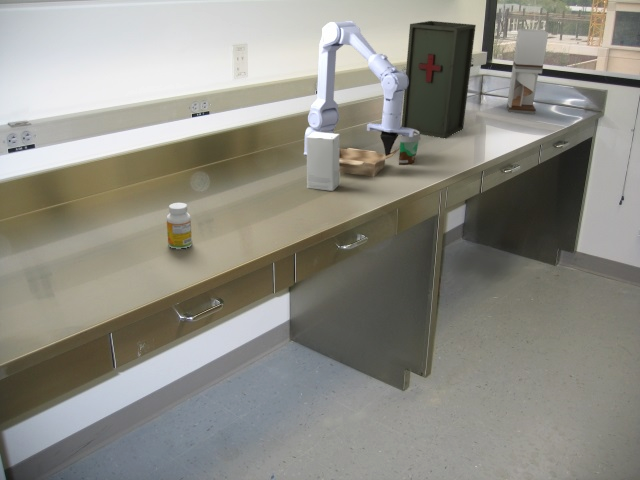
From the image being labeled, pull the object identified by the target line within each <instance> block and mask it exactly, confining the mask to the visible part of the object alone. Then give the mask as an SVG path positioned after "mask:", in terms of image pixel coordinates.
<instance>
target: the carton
mask: <svg viewBox="0 0 640 480" xmlns="http://www.w3.org/2000/svg"><path fill="white" fill-rule="evenodd" d="M384 155H385V153H378V151H374V150H366V149H359V148H358V149H357V148H352V147H351V148H350V147H347V149H346V148H340V154H339V158H341V159H349V160H356V161H363V162H365V163H364V164H363V165H361V166H358V165H351V164H344V163H339V173H346V174H352V175H358V176H359V175H360V176H367V177H372V178H373V177H375V176H377V175H378V173H379V172H381V170H383V168H385V165H386V159H385V160H383V161H380V162H378V160H380V159H381V158H382V157H383V156H384Z"/></svg>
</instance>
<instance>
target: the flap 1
mask: <svg viewBox="0 0 640 480" xmlns="http://www.w3.org/2000/svg"><path fill="white" fill-rule="evenodd" d="M339 163H344V164H351V165H358V166H361V165H363V164H364V163H365V162H363V161H356V160H349V159H341V158H339Z"/></svg>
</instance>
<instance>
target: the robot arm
mask: <svg viewBox="0 0 640 480" xmlns="http://www.w3.org/2000/svg"><path fill="white" fill-rule="evenodd" d="M321 31H322V32H321V33H322V34H321V39H320V40H319V45H318V64H317V66H318V67H317V87H316V88H317V90H316V99H315V100H314V101H313V103H312V104H311V105H310V109H309V113H308V116H307V121H308V124H309V126H307V128H306V129H305V134H304V152H303V155H304V156H305V155H306V156H307V137H308V136H309V135H310V134H312V133H313V132H322V133H334V134H335V128H336V125H338V123H339V121H340V113H339V104H338V103H337V102H336V101H335V100H334V99H335V97H334V96H335V79H336V78H335V76H336V64H337V63H336V62H337V61H336V60H337V51H338V50H339V49H340V48H342V47H343V46H344V45H346V46H352V48H354V50H356V51H357V52H358V53H359V54H360V55H361V56H362V57H363V58H364V59H365V60H366V61H367V62H368V63H367V64H368V66H367V67H368V68H369V70H370V71H371V73H373V75H374V76H376V77H377V79H378V80H379V81H380V84H381V88H382V91H383V107H382V116H381V124H380V123H368V124H366V131H368V132H370V131H372V132H379V133H380V135H379V136H380V140H381V141H382V144H383V148H384V154H385V156H388V155H389V154H390V152H391V151H392V148H393V146H394V144H395V142H396V140H397V138H398V137H399V136H402V135H405V136H409V137H413V136H414V129H408V128H404V127H402V126H401V125H402V115H403V103H404V91H405V89H406V88H407V87H408V84H409V80H408V77H407V75H406V71H402V70H398V68H397V67H396V66H394V65H393V64H392V63H391V62H390V60H389V59H388V56H387V55H386V54H383V53H378V52H376V51H375V49H374V48H373V46H372V45H370V43H369V41H367V39H366V38H365V37H364V35H363V34H362V33H361V29H360V27H359V26H357V25H356V23H355V22H354V21H352V20H347V21H338V22H336V21H330V22H328V23H326V25H324V26H323V27H322V29H321Z"/></svg>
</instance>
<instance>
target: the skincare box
mask: <svg viewBox="0 0 640 480" xmlns="http://www.w3.org/2000/svg"><path fill="white" fill-rule="evenodd" d="M340 137H341V134H340V133H335V132H334V133H322V132H313V133H312V134H310V135H309V136H308V137H307V155H306V188H307V189H311V190H322V191H327V192H328V191H329V192H333V191H334V190H336V189H337V187H338V186H339V185H340V172H339V154H340V146H341V145H340V140H341V138H340Z"/></svg>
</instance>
